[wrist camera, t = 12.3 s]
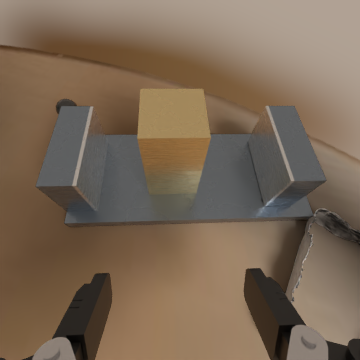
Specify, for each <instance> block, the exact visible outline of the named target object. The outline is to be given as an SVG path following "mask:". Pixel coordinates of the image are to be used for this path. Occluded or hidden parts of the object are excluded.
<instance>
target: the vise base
mask: <svg viewBox="0 0 360 360" xmlns="http://www.w3.org/2000/svg"><path fill="white" fill-rule="evenodd" d="M56 111H57V113H58V114H59V115H58V118H57V122H56V125H55V128H54V131H53V134H52V137H51V140H50V143H49V146H48V149H47V153H46V156H45V159H44V162H43V165H42V168H41V171H40V174H39V177H38V180H37V184H36V187H37V188H38V189H39V190H41V191H42V192H43V193H44V194H46V195H47V196H48V197H49V198H51V199H52V200H53V201H54V202H56V203H57V204H58V205H59V206H61V207H62V208H63V209H64V210H66V211H67V214H66V218H65V222H64V224H66V225H67V226H69V227H83V226H117V225H150V224H183V223H216V222H250V221H283V220H308V219H309V218H311V217H313V213H312V210H311V207H310V205H309V202H308V199H307V196H304V197H303V198H302V199H300V200H299V201H297V202H296V203H295V204H293V205H288V206H264V204H263V200H262V196H261V192H260V188H259V184H258V180H257V176H256V172H255V168H254V164H253V160H252V156H251V152H250V148H249V144H248V140H249V138H250V136H251V134H210V135H211V139H210V143H209V147H208V151H207V154H206V158H205V162H204V166H203V170H202V173H201V177H200V181H199V185H198V189H197V193H184V194H149V191H148V187H147V182H146V177H145V173H144V168H143V163H142V158H141V154H140V149H139V144H138V139H137V136H138V135H105V133H104V131H103V128H102V126H101V124H100V121H99V119H98V116H97V114H96V111H95V109H94V106H77V105H76V104H75V103H74V102H73V101H72V100H69V99H62V100H60V101H59V102H58V103H57V105H56Z"/></svg>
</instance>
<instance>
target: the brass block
mask: <svg viewBox="0 0 360 360" xmlns="http://www.w3.org/2000/svg"><path fill="white" fill-rule="evenodd" d="M137 139H138V144H139V149H140V154H141V158H142V163H143V168H144V173H145V177H146V182H147V187H148V191H149V194H184V193H197V189H198V185H199V181H200V177H201V173H202V170H203V166H204V162H205V158H206V154H207V151H208V147H209V143H210V139H211V135H210V129H209V122H208V116H207V109H206V103H205V97H204V90H203V89H140V103H139V120H138V136H137Z"/></svg>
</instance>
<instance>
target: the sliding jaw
mask: <svg viewBox="0 0 360 360" xmlns="http://www.w3.org/2000/svg"><path fill="white" fill-rule="evenodd" d="M248 144H249V148H250V152H251V156H252V160H253V164H254V168H255V172H256V176H257V180H258V184H259V188H260V192H261V196H262V200H263V204H264V206H288V205H293V204H295V203H296V202H297V201H299V200H300V199H302V198H303V197H304V196H306V195H307V194H308V193H310V192H311V191H313V190H314V189H315V188H317V187H318V186H319V185H321V184H322V183H324V182H325V181H326V178H325V176H324V173H323V171H322V169H321V167H320V164H319V162H318V160H317V157H316V155H315V153H314V150H313V148H312V146H311V143H310V141H309V139H308V136H307V134H306V132H305V130H304V127H303V125H302V123H301V120H300V118H299V116H298V113H297V111H296V109H295V106H266V107H265V108H264V110H263V112H262V114H261V116H260V118H259V120H258V122H257V124H256V126H255V128H254V130H253V132H252V134H251V136H250V138H249V140H248Z"/></svg>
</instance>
